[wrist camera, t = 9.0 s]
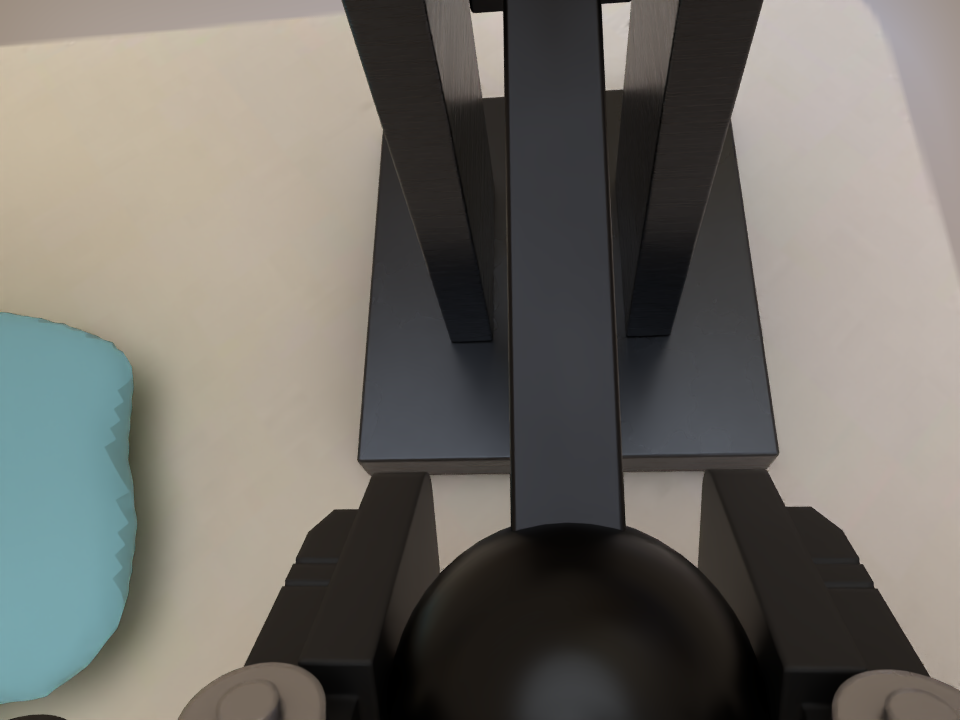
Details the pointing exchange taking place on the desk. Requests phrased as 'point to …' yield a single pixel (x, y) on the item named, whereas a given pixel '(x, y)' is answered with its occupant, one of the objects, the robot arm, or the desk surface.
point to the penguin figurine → (61, 501)
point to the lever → (567, 457)
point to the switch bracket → (635, 236)
